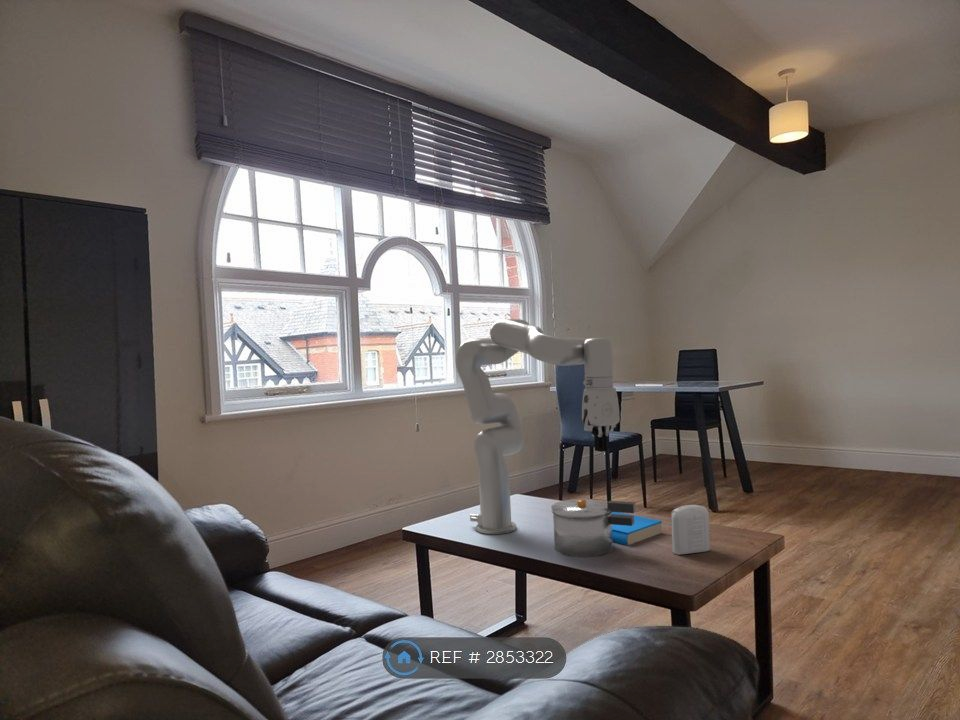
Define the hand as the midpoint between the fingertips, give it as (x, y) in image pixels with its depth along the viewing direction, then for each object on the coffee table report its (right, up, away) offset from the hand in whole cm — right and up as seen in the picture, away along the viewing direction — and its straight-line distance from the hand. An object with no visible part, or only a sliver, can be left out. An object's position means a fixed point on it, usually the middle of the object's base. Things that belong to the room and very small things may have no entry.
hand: (600, 450), depth 173 cm
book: (+7, -28, +19) cm, 34 cm away
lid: (-2, -17, +3) cm, 17 cm away
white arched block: (+23, -27, -4) cm, 36 cm away
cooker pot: (-1, -27, +3) cm, 28 cm away
